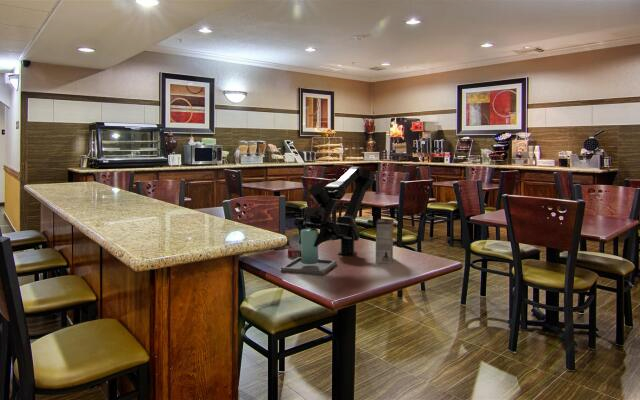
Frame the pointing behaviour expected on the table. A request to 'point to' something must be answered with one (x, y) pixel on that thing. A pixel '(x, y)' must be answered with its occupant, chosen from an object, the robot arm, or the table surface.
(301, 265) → the tray
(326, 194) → the robot arm
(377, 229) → the coffee box
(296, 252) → the canned food
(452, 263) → the table surface
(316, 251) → the green rounded cylinder
